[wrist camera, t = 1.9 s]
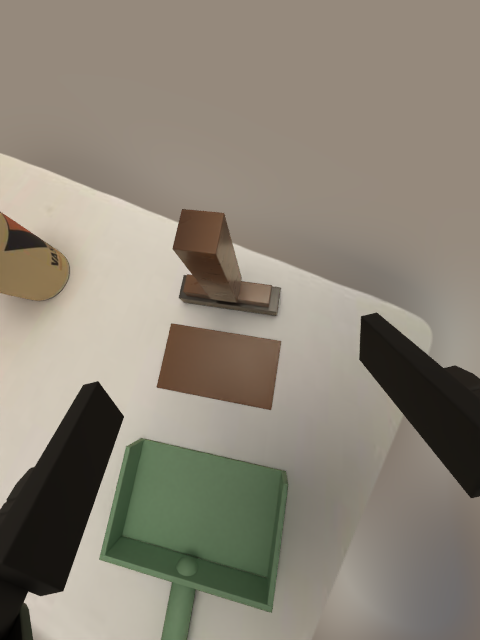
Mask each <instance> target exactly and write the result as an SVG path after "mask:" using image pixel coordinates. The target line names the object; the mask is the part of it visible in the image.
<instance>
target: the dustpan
mask: <svg viewBox="0 0 480 640" xmlns="http://www.w3.org/2000/svg"><path fill="white" fill-rule="evenodd" d="M287 490H288V482H287V476H286V471H282V470H278V469H273V468H269V467H265V466H260V465H256V464H252V463H247V462H243V461H239V460H234V459H230V458H226V457H221V456H217V455H213V454H208V453H204V452H199V451H195V450H191V449H186V448H182V447H178V446H173V445H169V444H165V443H160V442H156V441H152V440H147V439H143V438H141V439H139V440H137V441H135V442H134V443H132V444H130V445H128V446H126V450H125V454H124V458H123V462H122V466H121V470H120V475H119V479H118V483H117V487H116V491H115V496H114V500H113V504H112V508H111V512H110V517H109V521H108V525H107V529H106V533H105V537H104V542H103V546H102V550H101V554H100V558H99V560H102V561H105V562H109V563H112V564H115V565H118V566H122V567H125V568H128V569H131V570H135V571H138V572H141V573H144V574H147V575H151V576H154V577H157V578H160V579H164V580H167V581H170V582H172V585H171V590H170V596H169V601H168V606H167V611H166V617H165V622H164V627H163V632H162V638H161V640H187V635H188V630H189V624H190V618H191V613H192V607H193V601H194V596H195V590H199V591H203V592H206V593H209V594H212V595H215V596H219V597H222V598H225V599H228V600H232V601H235V602H238V603H241V604H245V605H248V606H251V607H254V608H258V609H261V610H264V611H267V612H271V613H272V609H273V601H274V593H275V585H276V577H277V569H278V561H279V554H280V546H281V538H282V530H283V522H284V514H285V506H286V498H287ZM124 536H126V537H124ZM127 537H129V538H127ZM131 538H133V539H131ZM134 539H136V540H134ZM138 540H139V541H138ZM141 541H143V542H141ZM144 542H146V543H144ZM148 543H150V544H148ZM151 544H153V545H151ZM155 545H157V546H155ZM158 546H160V547H158ZM162 547H164V548H162ZM165 548H167V549H165ZM169 549H170V550H169ZM172 550H174V551H172ZM175 551H177V552H175ZM179 552H181V553H179ZM182 553H184V554H182ZM186 554H188V555H186ZM189 555H191V556H189ZM193 556H195V557H193ZM196 557H198V558H196ZM199 558H201V559H199ZM203 559H205V560H203ZM206 560H208V561H206ZM210 561H212V562H210ZM213 562H215V563H213ZM217 563H219V564H217ZM220 564H222V565H220ZM224 565H226V566H224ZM227 566H229V567H227ZM230 567H232V568H230ZM234 568H236V569H234ZM237 569H239V570H237ZM241 570H243V571H241ZM244 571H246V572H244ZM248 572H250V573H248ZM251 573H253V574H251ZM255 574H257V575H255ZM258 575H260V576H258ZM261 576H263V577H261ZM265 577H267V578H265Z"/></svg>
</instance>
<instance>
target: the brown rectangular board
mask: <svg viewBox="0 0 480 640" xmlns="http://www.w3.org/2000/svg"><path fill="white" fill-rule="evenodd" d="M280 345H281V341H277V340H271V339H265V338H258V337H252V336H246V335H240V334H233V333H227V332H221V331H215V330H208V329H202V328H196V327H190V326H184V325H177V324H171V327H170V331H169V336H168V340H167V344H166V349H165V353H164V358H163V362H162V366H161V371H160V375H159V379H158V384H157V387H158V388H163V389H168V390H173V391H178V392H183V393H188V394H193V395H198V396H203V397H208V398H213V399H218V400H223V401H228V402H234V403H239V404H244V405H249V406H254V407H259V408H264V409H269V410H271V407H272V401H273V394H274V387H275V380H276V373H277V366H278V359H279V352H280Z"/></svg>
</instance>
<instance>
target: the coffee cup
mask: <svg viewBox="0 0 480 640" xmlns="http://www.w3.org/2000/svg"><path fill="white" fill-rule="evenodd" d="M68 277H69V264H68V261H67V259H66V258H65V256H64V255H63V254H62V253H60V252H59V251H58V250H56V249H55V248H53V247H52V246H50V245H49V244H47V243H46V242H44V241H43V240H42V239H40V238H39V237H37V236H36V235H34V234H33V233H31V232H30V231H28V230H27V229H25V228H24V227H22V226H21V225H19V224H18V223H16V222H15V221H13V220H12V219H10V218H9V217H7V216H6V215H4V214H3V213H1V212H0V293H3V294H7V295H12V296H16V297H21V298H25V299H30V300H36V301H42V300H47V299H50V298H52V297H54V296H55V295H56V294H58V293H59V292H60V291H61V290H62V289H63V287H64V286H65V284H66V283H67V280H68Z"/></svg>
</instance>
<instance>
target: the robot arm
mask: <svg viewBox="0 0 480 640" xmlns="http://www.w3.org/2000/svg"><path fill="white" fill-rule="evenodd" d="M359 360H360V361H361V362H362V363H363V365H364V366H365V367H366V368H367V370H368V371H369V372H370V373H371V374H372V376H373V377H374V378H375V379H376V381H377V382H378V383H379V384H380V386H381V387H382V388H383V389H384V391H385V392H386V393H387V394H388V396H389V397H390V398H391V399H392V401H393V402H394V403H395V404H396V406H397V407H398V408H399V409H400V411H401V412H402V413H403V414H404V416H405V417H406V418H407V419H408V421H409V422H410V423H411V424H412V425H413V427H414V428H415V429H416V430H417V432H418V433H419V434H420V435H421V437H422V438H423V439H424V440H425V442H426V443H427V444H428V445H429V447H430V448H431V449H432V450H433V452H434V453H435V454H436V455H437V457H438V458H439V459H440V460H441V461H442V463H443V464H444V465H445V467H446V468H447V469H448V470H449V471H450V473H451V474H452V475H453V476H454V478H455V479H456V480H457V481H458V483H459V484H460V485H461V486H462V488H463V489H464V490H465V491H466V493H467V494H468V495H469V496H470V497H471V498H474V497H479V496H480V379H479V378H478V377H477V376H475V375H474V374H473V373H470V372H468V371H466V370H464V369H462V368H460V367H457V366H451V367H447V368H443V367H441V366H440V365H439V364H438V363H437V362H435V361H434V360H433V359H432V358H431V357H429V356H428V355H427V354H426V353H425V352H424V351H422V350H421V349H420V348H419V347H418V346H416V345H415V344H414V343H413V342H412V341H410V340H409V339H408V338H407V337H406V336H404V335H403V334H402V333H401V332H400V331H398V330H397V329H396V328H395V327H394V326H392V325H391V324H390V323H389V322H388V321H386V320H385V319H384V318H383V317H382V316H380V315H379V314H378V313H373V314H369V315H365V316H361V333H360V358H359ZM123 418H124V416H123V414H122V413H121V412H120V410H119V409H118V408H117V406H116V405H115V404H114V402H113V401H112V399H111V398H110V397H109V395H108V394H107V393H106V391H105V390H104V389H103V387H102V386H101V384H100V383H99V382H93V383H89V384H85V385H83V386H82V388H81V390H80V391H79V393H78V395H77V396H76V398H75V400H74V402H73V403H72V405H71V407H70V408H69V410H68V412H67V413H66V415H65V417H64V418H63V420H62V422H61V424H60V425H59V427H58V429H57V430H56V432H55V434H54V435H53V437H52V439H51V440H50V442H49V444H48V445H47V447H46V449H45V451H44V452H43V454H42V456H41V457H40V459H39V461H38V462H37V464H36V466H35V467H33V468H30V469H29V470H28V471H27V472H26V474H25V475H24V476H23V477H22V478H21V479H20V480H19V481H18V482H17V484H16V485H15V487H14V488H13V490H12V492H11V493H10V495H9V497H8V498H7V502H6V503H4V505H3V506H2V508H1V509H0V640H33V636H32V629H31V622H30V615H29V609H28V607H27V605H26V604H25V603H23V602H24V600H25V598H26V595H27V593H28V591H29V592H31V593H34V594H36V595H39V596H44V595H48V594H53V593H57V592H61V591H64V588H65V585H66V582H67V579H68V576H69V573H70V570H71V568H72V565H73V562H74V559H75V556H76V553H77V550H78V548H79V545H80V542H81V539H82V536H83V533H84V530H85V527H86V525H87V522H88V519H89V516H90V513H91V510H92V507H93V504H94V502H95V499H96V496H97V493H98V490H99V487H100V484H101V481H102V479H103V476H104V473H105V470H106V467H107V464H108V461H109V458H110V456H111V453H112V450H113V447H114V444H115V441H116V438H117V435H118V433H119V430H120V427H121V424H122V421H123Z"/></svg>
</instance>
